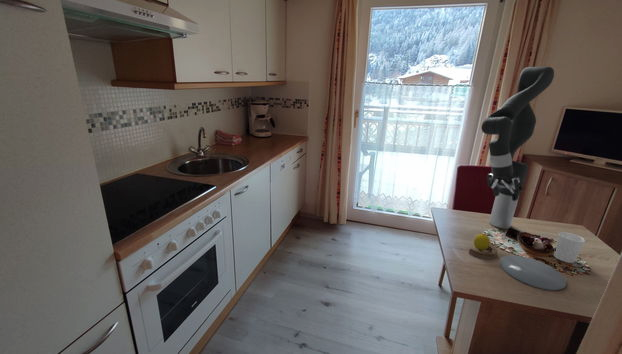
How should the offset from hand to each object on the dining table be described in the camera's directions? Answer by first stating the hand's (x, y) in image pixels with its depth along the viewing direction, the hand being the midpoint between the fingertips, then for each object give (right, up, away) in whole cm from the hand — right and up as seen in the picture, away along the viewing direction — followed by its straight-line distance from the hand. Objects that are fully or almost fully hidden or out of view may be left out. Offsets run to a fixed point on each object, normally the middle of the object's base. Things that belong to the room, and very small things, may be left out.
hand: (505, 197), depth 124 cm
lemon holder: (-13, -22, -6) cm, 27 cm away
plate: (-3, -27, -18) cm, 32 cm away
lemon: (-14, -22, -5) cm, 27 cm away
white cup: (+19, -25, -7) cm, 32 cm away
